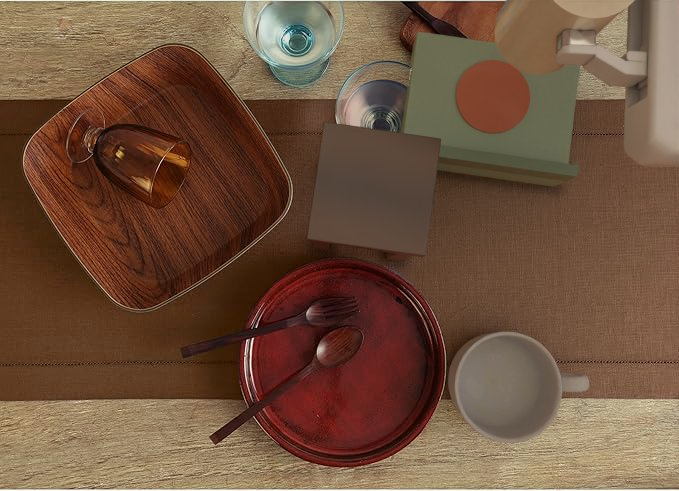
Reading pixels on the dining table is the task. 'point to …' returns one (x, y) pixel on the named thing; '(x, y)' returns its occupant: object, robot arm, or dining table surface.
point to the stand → (374, 190)
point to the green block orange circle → (491, 111)
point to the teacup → (509, 386)
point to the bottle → (547, 28)
